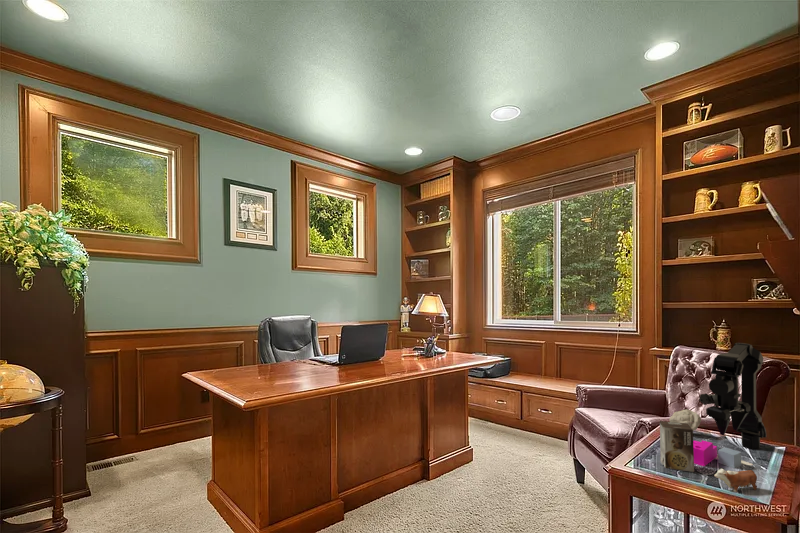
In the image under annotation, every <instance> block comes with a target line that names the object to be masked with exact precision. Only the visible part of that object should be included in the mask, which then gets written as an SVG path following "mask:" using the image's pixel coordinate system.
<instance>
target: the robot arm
mask: <svg viewBox="0 0 800 533" xmlns="http://www.w3.org/2000/svg"><path fill="white" fill-rule="evenodd" d="M763 363H764V356H763V354H762V352H761V351H760V350H758V349H757V348H754V347H753V345H752V344H750V343H744V342H736V343H734V344H733V347H732V348H731V349H730V350H728V351H727V353H719V354H717V355H716V357H714V359H713V363H712V368H711V370H710V373H711V374H712V375H714V376H715V378H712V380H710V382H709V384H708V388H709V390H710V391H711V393H713V394H708V393H702V394H701V393H700V395H699V400H698V401H699V402H700V403H702V404H703V406H706V405H711V406H709V407H707V408H706V409H705V415H706V416H708V417H710V418H711V419H713V420H714V421H715V424H716V427H717V429H718V432H719V434H720V435H721V436H725V434H726V432H727V429H728V426H729V424H730V422H731V424H732V425H731V426H732V430H733V431H735V432H736V433H740V434H741V447H742V448H744V449H749V450H760V449H761V439H764V438H767V430H766V427H765V425H764V423H763V421H762V420H763V419H762V415H761V414H760V413H759V412H758V410H757V373H758V372H759V371H760V370H761V368H762V365H763ZM740 376H741V393H739V378H740ZM739 398H741V401H740V400H739ZM713 404H714V405H713Z"/></svg>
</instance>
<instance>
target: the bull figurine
mask: <svg viewBox="0 0 800 533" xmlns="http://www.w3.org/2000/svg"><path fill="white" fill-rule="evenodd" d="M714 477H715V479H716V478H717V479H720V480H721V481H723V483H725V484H726V485H727V486H728V488H729V489H733V492H735V493H737V492H738V490H739V487H740V488H746V487H747V488H749V487H752V488H753V489H752V490H753V491H757V488H758V485H757V479H758V477H757V474H756V473H755V471H754V470H751V469H750V470H740V471H733V470H725V469H723V468H720V469H718V470H717V472H716V473H715V474H714Z"/></svg>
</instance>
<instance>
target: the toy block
mask: <svg viewBox="0 0 800 533" xmlns="http://www.w3.org/2000/svg"><path fill="white" fill-rule="evenodd" d="M713 443H714V442H711V441H706V440H703V439H701V441H699V440H694V439H693V449H694V465H698V466H702V467H706V466H707V465H709V463H711V462H712V461H714V460H716V459H715V458H716V457H717V455H718V446H717V445H714V444H713Z"/></svg>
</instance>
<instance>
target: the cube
mask: <svg viewBox="0 0 800 533" xmlns="http://www.w3.org/2000/svg"><path fill="white" fill-rule="evenodd" d="M717 455H718V459H717V461H718V462H717V464H721V465H723V466H727V467H728V468H731V469H732V468H733V469H736V468H739V467H741V466H742V464H741V460H742V452H741V451H739V450H735V449H732V448H729V447H722V448H719V449H717Z"/></svg>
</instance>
